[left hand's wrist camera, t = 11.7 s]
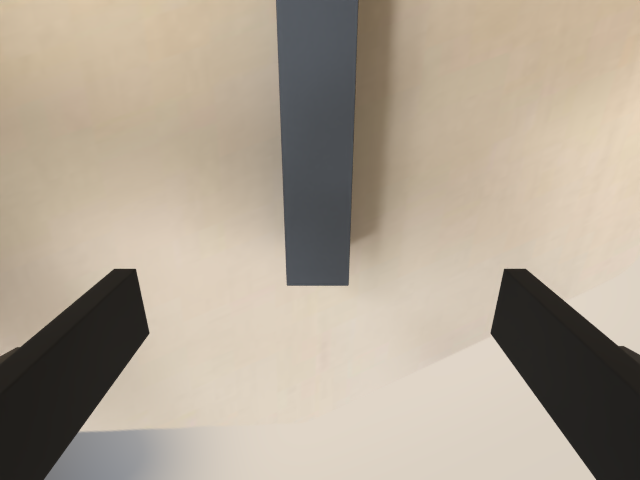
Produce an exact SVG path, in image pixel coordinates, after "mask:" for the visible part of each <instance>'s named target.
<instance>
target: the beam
mask: <svg viewBox="0 0 640 480" xmlns="http://www.w3.org/2000/svg"><path fill="white" fill-rule="evenodd" d="M276 10H277V37H278V63H279V90H280V116H281V143H282V169H283V196H284V222H285V249H286V275H287V286H348V285H349V257H350V228H351V199H352V169H353V140H354V111H355V82H356V53H357V24H358V0H276Z"/></svg>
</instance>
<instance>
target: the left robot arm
mask: <svg viewBox="0 0 640 480" xmlns="http://www.w3.org/2000/svg"><path fill="white" fill-rule="evenodd" d="M148 335H149V329H148V324H147V319H146V315H145V310H144V305H143V301H142V296H141V291H140V286H139V282H138V277H137V272H136V269H114V270H112V271H111V272H110V273H109V274H108V275H106V276H105V277H104V278H103V279H102V280H100V281H99V282H98V283H97V284H96V285H94V286H93V287H92V288H91V289H90V290H88V291H87V292H86V293H85V294H84V295H82V296H81V297H80V298H79V299H78V300H76V301H75V302H74V303H73V304H72V305H70V306H69V307H68V308H67V309H66V310H64V311H63V312H62V313H61V314H60V315H58V316H57V317H56V318H55V319H54V320H52V321H51V322H50V323H49V324H48V325H46V326H45V327H44V328H43V329H42V330H40V331H39V332H38V333H37V334H36V335H34V336H33V337H32V338H31V339H30V340H28V341H27V342H26V343H25V344H24V345H22V346H21V347H17V348H15V349H13V350H11V351H9V352H7V353H6V354H4V355H2V356H0V480H44V479H45V477H46V476H47V474H48V473H49V472H50V470H51V469H52V467H53V466H54V465H55V463H56V462H57V461H58V459H59V458H60V456H61V455H62V454H63V452H64V451H65V449H66V448H67V447H68V445H69V444H70V443H71V441H72V440H73V438H74V437H75V436H76V434H77V433H78V432H79V430H80V429H81V427H82V426H83V425H84V423H85V422H86V420H87V419H88V418H89V416H90V415H91V414H92V412H93V411H94V409H95V408H96V407H97V405H98V404H99V402H100V401H101V400H102V398H103V397H104V396H105V394H106V393H107V391H108V390H109V389H110V387H111V386H112V384H113V383H114V382H115V380H116V379H117V378H118V376H119V375H120V373H121V372H122V371H123V369H124V368H125V366H126V365H127V364H128V362H129V361H130V360H131V358H132V357H133V355H134V354H135V353H136V351H137V350H138V348H139V347H140V346H141V344H142V343H143V342H144V340H145V339H146V337H147V336H148ZM491 335H492V336H493V337H494V339H495V340H496V342H497V343H498V344H499V346H500V347H501V348H502V350H503V351H504V353H505V354H506V355H507V357H508V358H509V360H510V361H511V362H512V364H513V365H514V366H515V368H516V369H517V371H518V372H519V373H520V375H521V376H522V377H523V379H524V380H525V382H526V383H527V384H528V386H529V387H530V389H531V390H532V391H533V393H534V394H535V396H536V397H537V398H538V400H539V401H540V402H541V404H542V405H543V407H544V408H545V409H546V411H547V412H548V414H549V415H550V416H551V418H552V419H553V420H554V422H555V423H556V425H557V426H558V427H559V429H560V430H561V432H562V433H563V434H564V436H565V437H566V438H567V440H568V441H569V443H570V444H571V445H572V447H573V448H574V449H575V451H576V452H577V454H578V455H579V456H580V458H581V459H582V460H583V462H584V463H585V465H586V466H587V467H588V469H589V470H590V472H591V473H592V474H593V476H594V477H595V478H596V480H640V355H639V354H637V353H635V352H634V351H632V350H630V349H628V348H626V347H624V346H618V345H616V344H615V343H614V342H613V341H612V340H610V339H609V338H608V337H607V336H606V335H604V334H603V333H602V332H601V331H600V330H598V329H597V328H596V327H595V326H594V325H592V324H591V323H590V322H589V321H588V320H586V319H585V318H584V317H583V316H581V315H580V314H579V313H578V312H577V311H576V310H574V309H573V308H572V307H571V306H570V305H568V304H567V303H566V302H565V301H564V300H562V299H561V298H560V297H559V296H558V295H556V294H555V293H554V292H553V291H552V290H550V289H549V288H548V287H547V286H546V285H544V284H543V283H542V282H541V281H540V280H538V279H537V278H536V277H535V276H534V275H532V274H531V273H530V272H529V271H528V270H526V269H504V272H503V277H502V282H501V286H500V291H499V296H498V301H497V305H496V310H495V315H494V319H493V324H492V329H491Z"/></svg>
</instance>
